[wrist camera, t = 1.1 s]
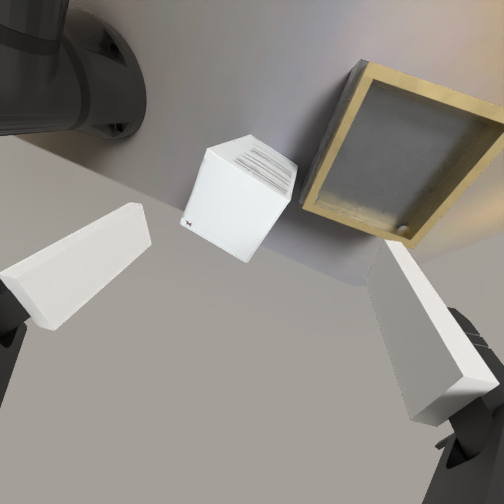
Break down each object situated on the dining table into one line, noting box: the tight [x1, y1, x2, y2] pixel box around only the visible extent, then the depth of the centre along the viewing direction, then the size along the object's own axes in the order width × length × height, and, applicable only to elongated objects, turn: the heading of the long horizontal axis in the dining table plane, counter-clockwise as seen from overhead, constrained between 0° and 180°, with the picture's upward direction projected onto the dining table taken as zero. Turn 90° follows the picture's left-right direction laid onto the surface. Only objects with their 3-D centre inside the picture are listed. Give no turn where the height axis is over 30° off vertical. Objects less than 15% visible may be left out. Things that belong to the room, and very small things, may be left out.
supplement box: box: [180, 135, 298, 263], centre depth 29 cm, size 10×9×17 cm
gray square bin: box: [298, 59, 504, 249], centre depth 27 cm, size 16×16×9 cm
